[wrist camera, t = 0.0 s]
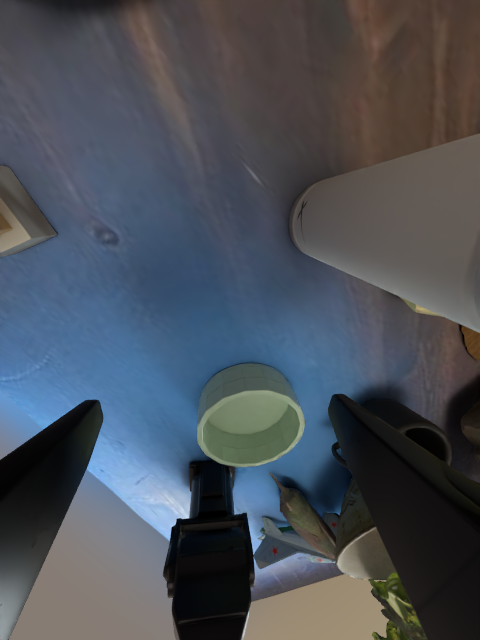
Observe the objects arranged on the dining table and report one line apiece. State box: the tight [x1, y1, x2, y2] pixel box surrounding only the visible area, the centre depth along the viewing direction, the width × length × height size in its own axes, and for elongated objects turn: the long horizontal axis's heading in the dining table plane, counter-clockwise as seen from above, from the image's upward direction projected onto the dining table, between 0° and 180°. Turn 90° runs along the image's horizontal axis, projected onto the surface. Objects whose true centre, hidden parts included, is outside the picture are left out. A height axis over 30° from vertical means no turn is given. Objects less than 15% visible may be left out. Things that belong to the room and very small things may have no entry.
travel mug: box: [289, 133, 480, 333], centre depth 11 cm, size 6×7×20 cm
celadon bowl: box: [197, 363, 305, 467], centre depth 27 cm, size 12×12×4 cm
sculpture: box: [270, 473, 336, 560], centre depth 36 cm, size 5×19×5 cm
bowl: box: [335, 478, 480, 580], centre depth 34 cm, size 24×24×10 cm
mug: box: [331, 399, 453, 469], centre depth 28 cm, size 12×9×7 cm
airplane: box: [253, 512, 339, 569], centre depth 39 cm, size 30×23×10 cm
